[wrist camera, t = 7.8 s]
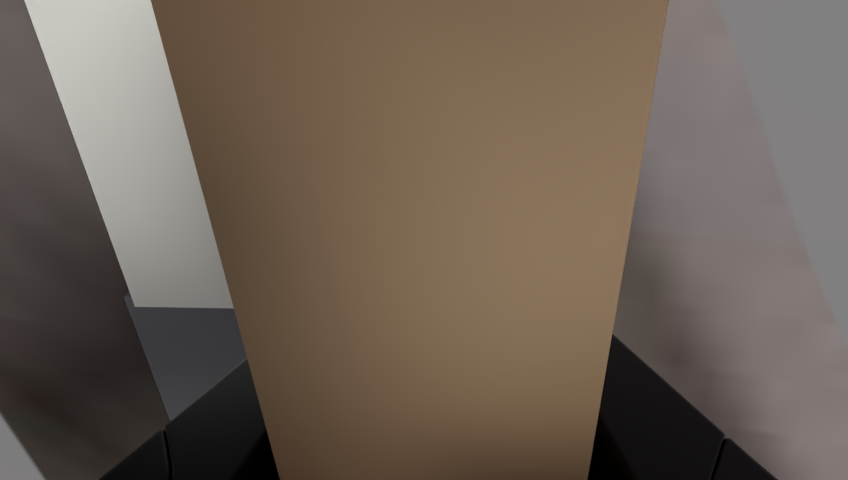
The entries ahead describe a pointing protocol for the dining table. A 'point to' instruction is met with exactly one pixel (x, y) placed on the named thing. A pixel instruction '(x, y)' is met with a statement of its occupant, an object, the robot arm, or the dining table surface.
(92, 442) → the dining table surface
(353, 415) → the tan wooden block
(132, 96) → the tile
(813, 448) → the dining table surface
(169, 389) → the mat
